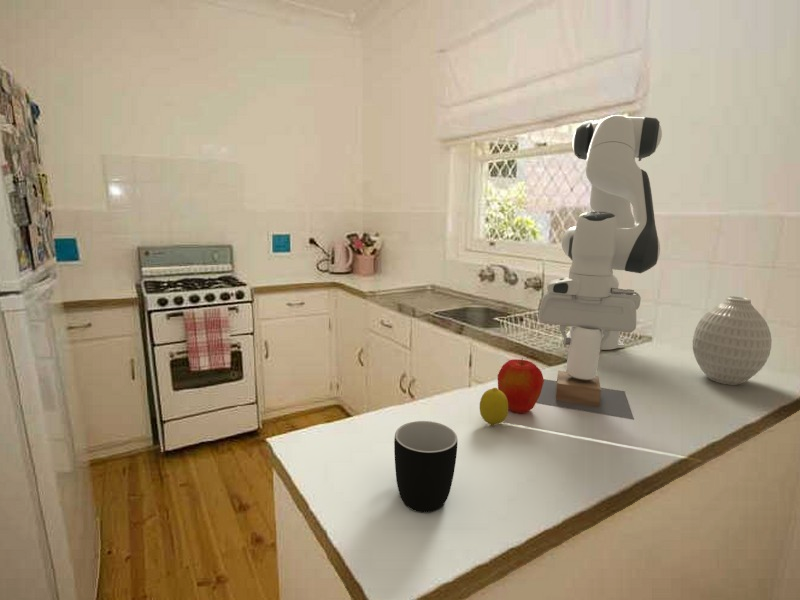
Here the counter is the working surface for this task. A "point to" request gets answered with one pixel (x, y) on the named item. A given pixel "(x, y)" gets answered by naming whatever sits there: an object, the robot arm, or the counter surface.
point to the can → (583, 353)
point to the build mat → (608, 405)
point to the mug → (424, 464)
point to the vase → (732, 341)
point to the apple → (520, 384)
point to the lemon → (493, 406)
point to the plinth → (578, 390)
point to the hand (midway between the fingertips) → (582, 346)
